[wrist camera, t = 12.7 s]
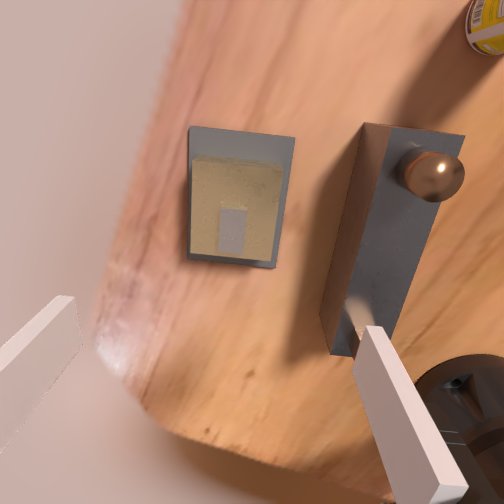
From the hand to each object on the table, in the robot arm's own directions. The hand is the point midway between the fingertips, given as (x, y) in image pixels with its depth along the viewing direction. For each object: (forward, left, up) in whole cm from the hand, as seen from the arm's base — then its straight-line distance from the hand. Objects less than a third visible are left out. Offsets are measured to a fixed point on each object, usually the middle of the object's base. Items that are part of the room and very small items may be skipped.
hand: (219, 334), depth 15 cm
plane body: (-2, -13, -21) cm, 25 cm away
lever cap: (0, +1, -20) cm, 20 cm away
